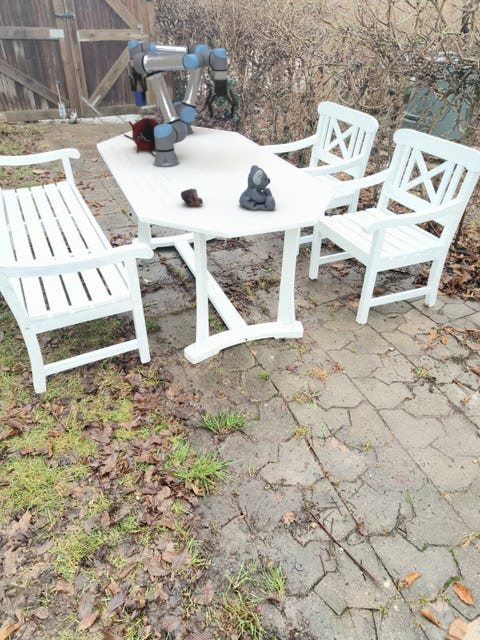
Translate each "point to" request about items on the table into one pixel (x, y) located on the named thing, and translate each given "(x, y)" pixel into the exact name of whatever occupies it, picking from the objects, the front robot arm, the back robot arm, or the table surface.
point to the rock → (191, 197)
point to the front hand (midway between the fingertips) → (221, 118)
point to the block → (139, 98)
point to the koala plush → (257, 191)
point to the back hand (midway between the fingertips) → (140, 101)
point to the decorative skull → (144, 134)
